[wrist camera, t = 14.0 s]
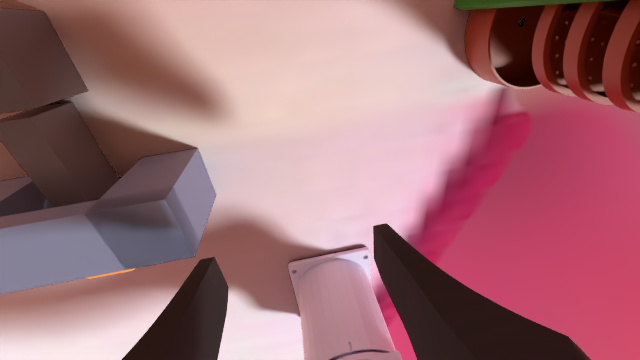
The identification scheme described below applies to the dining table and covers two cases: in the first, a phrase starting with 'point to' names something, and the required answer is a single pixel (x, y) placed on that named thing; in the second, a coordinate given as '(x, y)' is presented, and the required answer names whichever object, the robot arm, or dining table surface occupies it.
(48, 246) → the housing
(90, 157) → the plug
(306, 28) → the dining table surface
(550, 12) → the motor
